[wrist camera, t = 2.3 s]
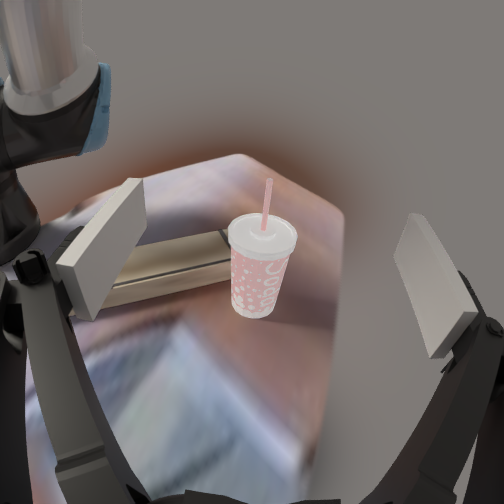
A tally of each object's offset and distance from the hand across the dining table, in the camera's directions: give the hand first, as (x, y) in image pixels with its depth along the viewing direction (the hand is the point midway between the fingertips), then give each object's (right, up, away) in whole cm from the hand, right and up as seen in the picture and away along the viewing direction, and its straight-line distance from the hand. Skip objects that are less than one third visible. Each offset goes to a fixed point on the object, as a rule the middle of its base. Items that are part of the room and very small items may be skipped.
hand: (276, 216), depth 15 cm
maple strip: (-12, -4, +20) cm, 24 cm away
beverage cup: (-1, -7, +19) cm, 20 cm away
